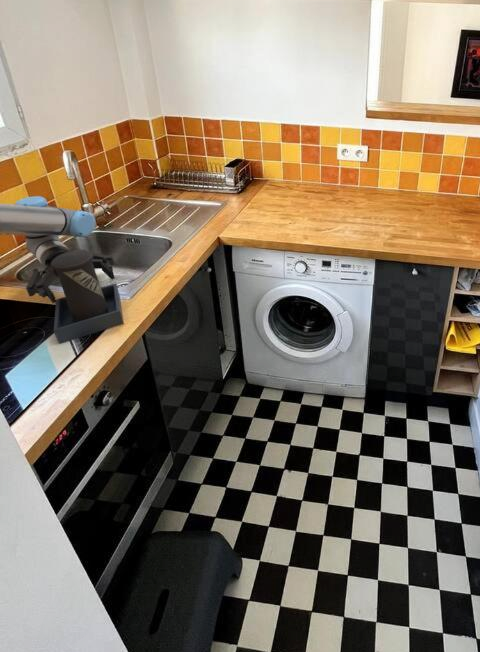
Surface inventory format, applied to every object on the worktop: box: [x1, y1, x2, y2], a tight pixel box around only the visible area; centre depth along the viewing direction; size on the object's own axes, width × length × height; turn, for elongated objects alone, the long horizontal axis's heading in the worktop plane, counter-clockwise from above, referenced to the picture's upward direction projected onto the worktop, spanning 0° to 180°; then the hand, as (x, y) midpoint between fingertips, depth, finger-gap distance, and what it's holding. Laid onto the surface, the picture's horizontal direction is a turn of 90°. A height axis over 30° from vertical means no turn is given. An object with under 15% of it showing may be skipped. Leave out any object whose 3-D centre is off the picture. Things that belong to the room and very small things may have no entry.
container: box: [51, 249, 108, 323], centre depth 104 cm, size 9×9×20 cm
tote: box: [53, 283, 125, 345], centre depth 108 cm, size 15×15×4 cm
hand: (84, 286), depth 102 cm, fingers open, 13 cm apart
